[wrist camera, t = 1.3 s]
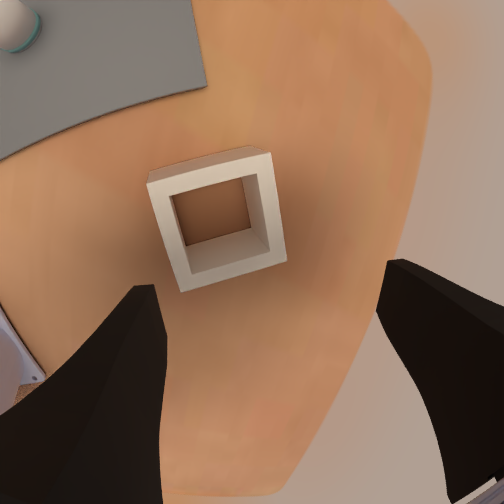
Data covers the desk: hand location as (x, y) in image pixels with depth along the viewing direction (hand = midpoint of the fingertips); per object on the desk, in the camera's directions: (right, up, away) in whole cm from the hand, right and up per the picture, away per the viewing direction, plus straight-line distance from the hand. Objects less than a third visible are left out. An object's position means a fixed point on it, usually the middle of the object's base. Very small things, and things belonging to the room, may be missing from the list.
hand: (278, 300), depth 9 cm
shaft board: (-13, +13, +1) cm, 18 cm away
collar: (-3, +4, +8) cm, 9 cm away
